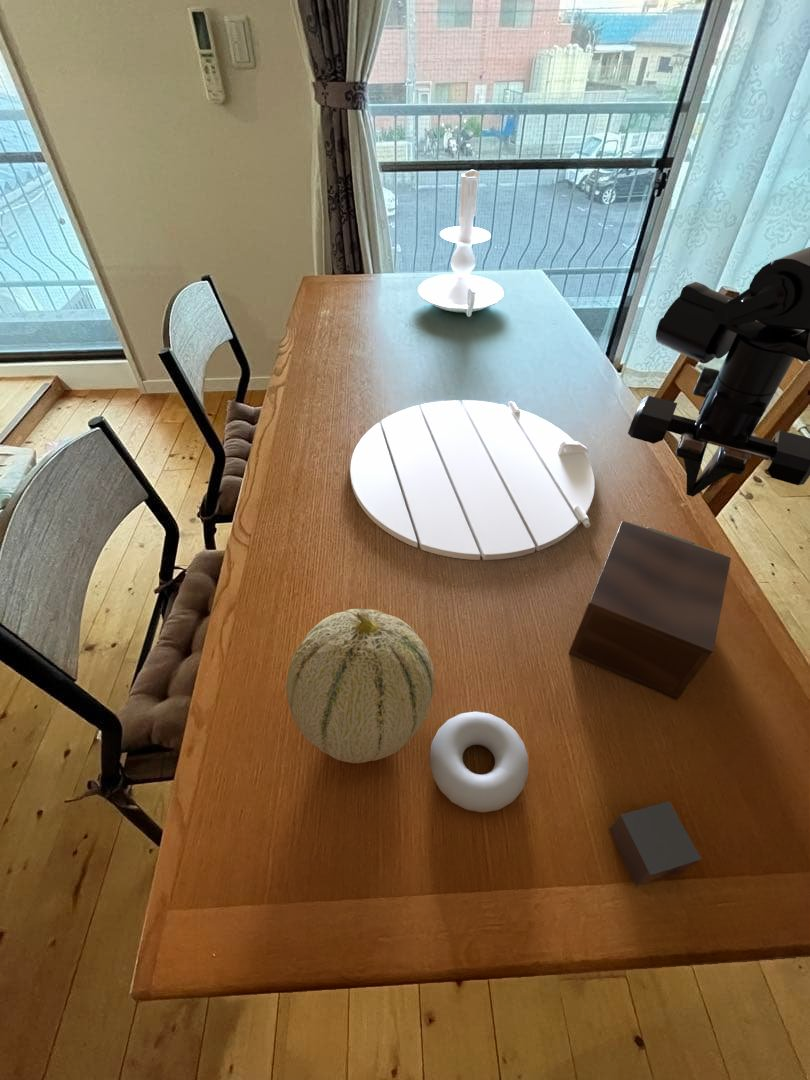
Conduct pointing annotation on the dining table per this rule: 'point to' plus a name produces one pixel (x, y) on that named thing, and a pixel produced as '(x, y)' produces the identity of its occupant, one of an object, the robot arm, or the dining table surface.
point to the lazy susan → (472, 479)
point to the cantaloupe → (360, 685)
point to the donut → (467, 785)
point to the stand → (653, 843)
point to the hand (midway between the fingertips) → (690, 493)
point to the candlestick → (463, 261)
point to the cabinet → (653, 610)
